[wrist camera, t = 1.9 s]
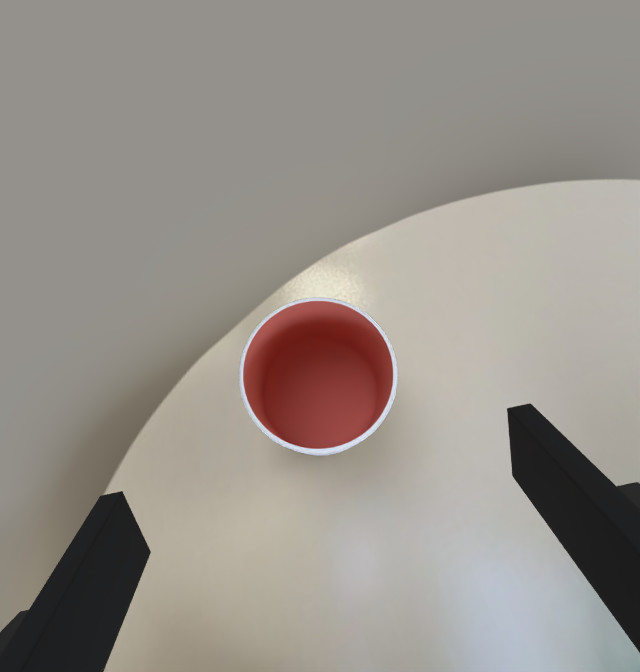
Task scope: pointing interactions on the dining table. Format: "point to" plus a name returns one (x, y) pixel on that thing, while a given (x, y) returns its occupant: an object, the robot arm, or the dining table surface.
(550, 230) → the dining table surface
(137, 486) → the dining table surface
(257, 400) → the cup
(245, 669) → the dining table surface
